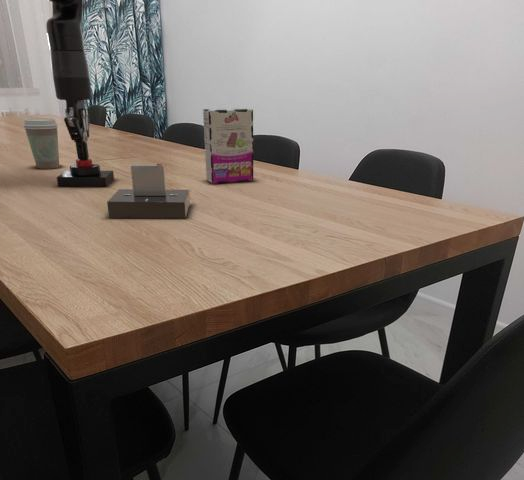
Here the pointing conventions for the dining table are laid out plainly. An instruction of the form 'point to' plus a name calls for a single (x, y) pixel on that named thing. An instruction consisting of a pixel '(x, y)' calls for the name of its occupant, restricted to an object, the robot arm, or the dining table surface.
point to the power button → (84, 163)
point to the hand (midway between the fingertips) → (83, 159)
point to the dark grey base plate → (149, 205)
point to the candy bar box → (228, 144)
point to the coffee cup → (43, 142)
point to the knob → (148, 179)
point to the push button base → (85, 177)
